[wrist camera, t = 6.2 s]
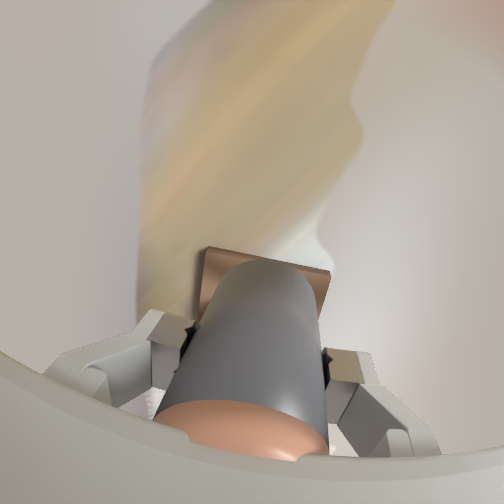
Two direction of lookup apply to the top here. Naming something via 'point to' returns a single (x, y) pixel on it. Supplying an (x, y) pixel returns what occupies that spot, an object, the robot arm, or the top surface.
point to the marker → (254, 368)
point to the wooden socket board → (225, 260)
